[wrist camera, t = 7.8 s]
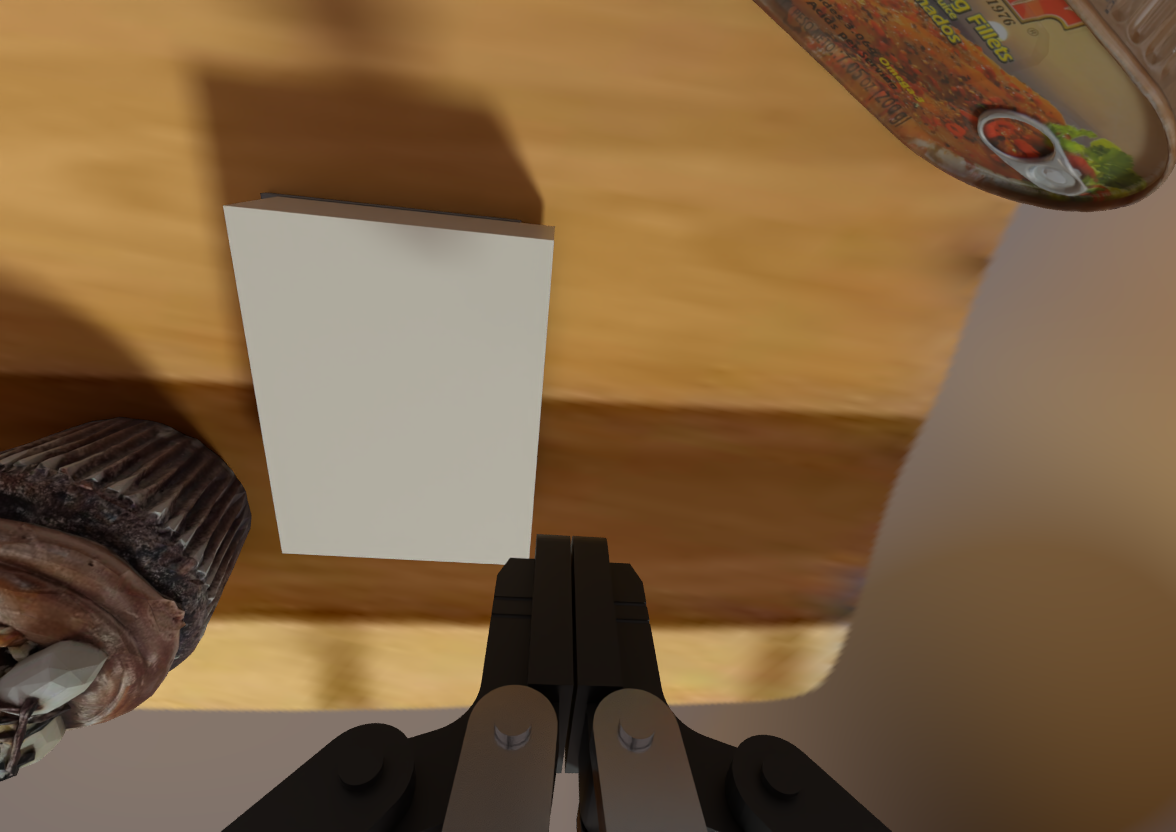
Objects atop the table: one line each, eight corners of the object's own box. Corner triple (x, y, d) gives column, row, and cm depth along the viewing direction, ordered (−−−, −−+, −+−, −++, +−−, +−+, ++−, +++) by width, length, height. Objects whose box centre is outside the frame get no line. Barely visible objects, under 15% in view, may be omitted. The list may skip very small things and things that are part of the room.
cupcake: (296, 451, 23) (123, 651, 14) (246, 610, 26) (83, 850, 17) (35, 357, 20) (-378, 521, 11) (20, 545, 24) (-304, 782, 15)
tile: (554, 225, 19) (281, 195, 18) (554, 240, 16) (222, 205, 15) (532, 511, 24) (319, 498, 23) (528, 565, 21) (282, 553, 20)
